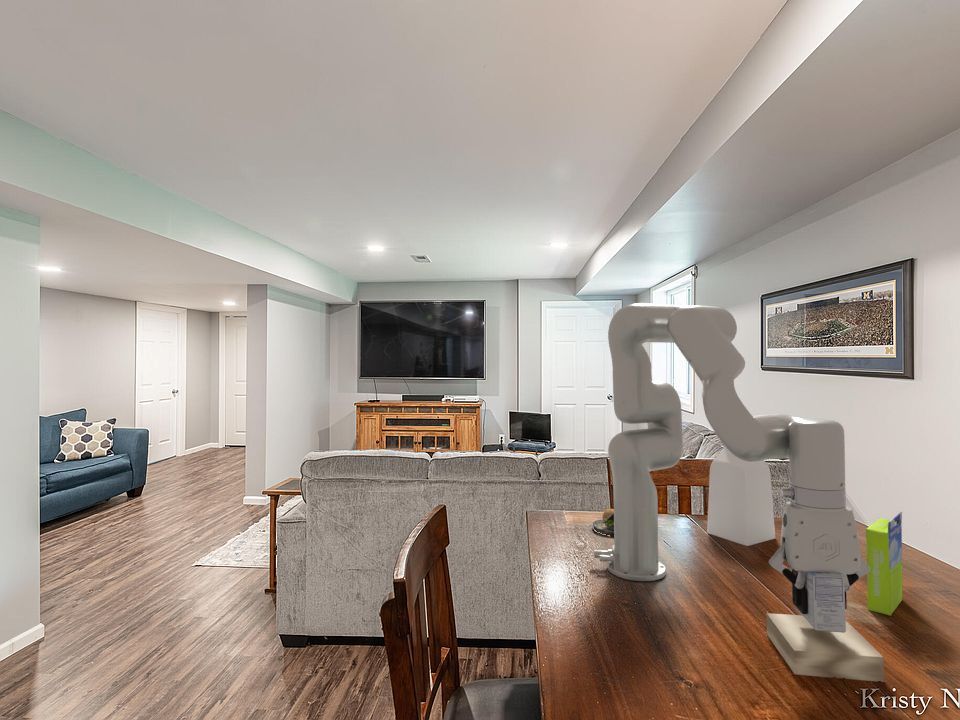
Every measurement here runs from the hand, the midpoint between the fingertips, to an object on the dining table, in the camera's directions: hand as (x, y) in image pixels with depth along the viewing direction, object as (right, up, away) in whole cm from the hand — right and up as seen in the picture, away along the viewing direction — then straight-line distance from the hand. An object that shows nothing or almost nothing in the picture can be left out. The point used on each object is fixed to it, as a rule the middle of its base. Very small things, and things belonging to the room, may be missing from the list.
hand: (819, 610), depth 85 cm
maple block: (0, -8, 0) cm, 8 cm away
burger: (-17, -8, +64) cm, 67 cm away
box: (+24, -7, +17) cm, 30 cm away
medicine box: (0, -2, 0) cm, 2 cm away
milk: (+16, -7, +58) cm, 61 cm away
